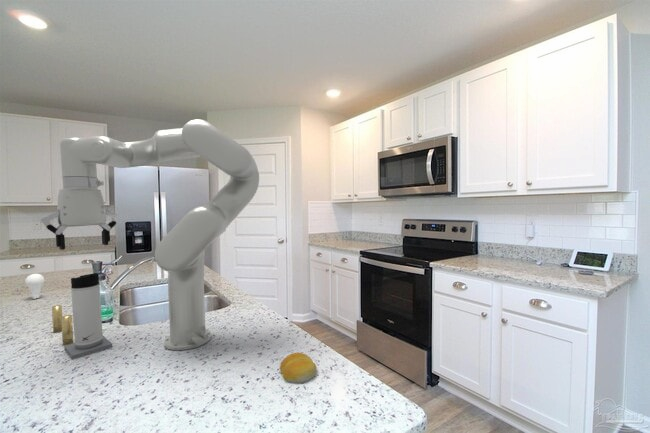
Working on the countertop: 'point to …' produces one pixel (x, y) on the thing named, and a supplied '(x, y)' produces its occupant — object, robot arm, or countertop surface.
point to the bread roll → (298, 368)
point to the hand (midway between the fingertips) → (84, 246)
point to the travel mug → (86, 311)
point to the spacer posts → (62, 324)
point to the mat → (78, 353)
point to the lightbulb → (35, 284)
